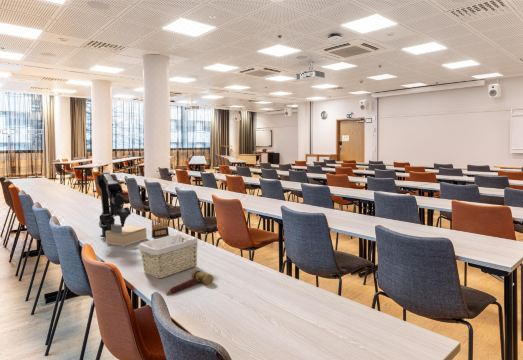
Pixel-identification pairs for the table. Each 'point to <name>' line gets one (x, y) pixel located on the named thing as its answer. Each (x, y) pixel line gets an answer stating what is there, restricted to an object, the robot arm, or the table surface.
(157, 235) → the ammunition clip
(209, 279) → the gavel
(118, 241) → the mailer box
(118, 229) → the mailer lid
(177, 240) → the storage basket
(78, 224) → the table surface
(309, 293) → the table surface
